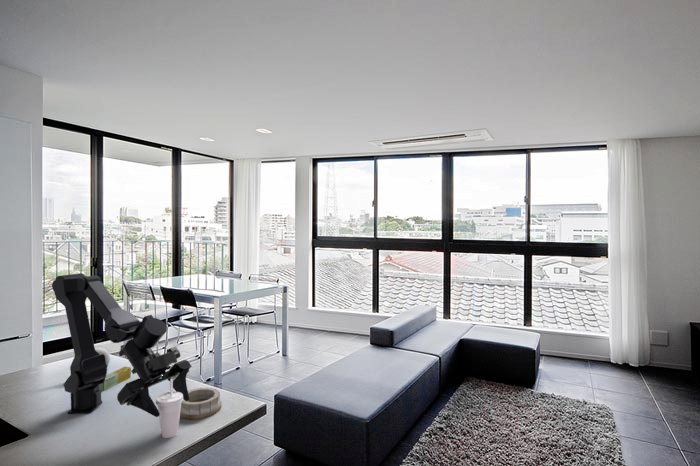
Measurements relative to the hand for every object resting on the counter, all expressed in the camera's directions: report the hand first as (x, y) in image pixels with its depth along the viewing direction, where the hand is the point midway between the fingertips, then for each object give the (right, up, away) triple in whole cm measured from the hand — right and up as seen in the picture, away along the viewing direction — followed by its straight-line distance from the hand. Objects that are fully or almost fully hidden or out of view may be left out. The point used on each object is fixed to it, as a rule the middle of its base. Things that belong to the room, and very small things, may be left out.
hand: (173, 407), depth 101 cm
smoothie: (-1, -7, +1) cm, 7 cm away
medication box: (-34, -6, +32) cm, 47 cm away
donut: (-45, -6, +38) cm, 59 cm away
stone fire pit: (+1, -7, +14) cm, 16 cm away
